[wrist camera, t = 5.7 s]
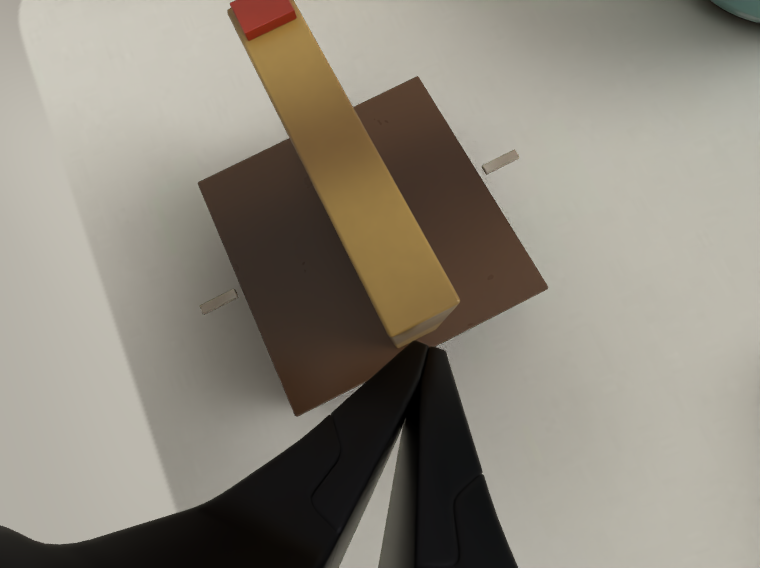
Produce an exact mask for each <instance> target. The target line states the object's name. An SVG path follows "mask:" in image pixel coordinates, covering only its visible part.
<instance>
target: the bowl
mask: <svg viewBox="0 0 760 568" xmlns="http://www.w3.org/2000/svg"><path fill="white" fill-rule="evenodd" d="M710 1H712V2H713V3H714V4H716V5H717V6H719V7H720V8H722V9H724V10H725V11H727V12H729V13H731V14H734V15H736V16H738V17H740V18H743V19H746V20H749V21H753V22H757V23H760V0H710Z"/></svg>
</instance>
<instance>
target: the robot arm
mask: <svg viewBox="0 0 760 568" xmlns="http://www.w3.org/2000/svg"><path fill="white" fill-rule="evenodd" d="M403 424H404V425H403ZM402 426H403V429H402ZM401 429H402V434H401V439H400V445H399V450H398V456H397V462H396V468H395V474H394V479H393V485H392V491H391V497H390V502H389V508H388V514H387V520H386V526H385V531H384V537H383V543H382V549H381V554H380V560H379V566H378V568H518V566H517V564H516V561H515V559H514V557H513V554H512V552H511V550H510V547H509V545H508V542H507V540H506V537H505V535H504V532H503V530H502V527H501V525H500V522H499V520H498V517H497V514H496V511H495V508H494V505H493V502H492V499H491V496H490V494H489V490H488V487H487V484H486V480H485V477H484V475H483V474H482V468H481V465H480V461H479V458H478V455H477V452H476V448H475V445H474V442H473V439H472V435H471V432H470V429H469V426H468V423H467V419H466V416H465V413H464V410H463V406H462V403H461V400H460V397H459V393H458V390H457V387H456V384H455V380H454V377H453V374H452V371H451V367H450V364H449V361H448V358H447V354H446V352H445V351H444V350H442V349H439V348H436V347H433V346H430V347H428V345H427V344H425V343H422V342H419V341H416V340H413V341H412V342H410V343H409V344H408V345H407V346H406V347H405V348H404V349H403V350H402V351H400V352H399V353H398V354H397V355H396V356H395V357H394V358H393V359H391V360H390V361H389V362H388V363H387V364H386V365H385V366H384V367H382V368H381V369H380V370H379V371H378V372H377V373H376V374H375V375H373V376H372V377H371V378H370V379H369V380H368V381H367V382H366V383H365V384H363V385H362V386H361V387H360V388H359V389H358V390H357V391H356V392H354V393H353V394H352V395H351V396H350V397H349V398H348V399H347V400H345V401H344V402H343V403H342V404H341V405H340V406H339V407H338V408H337V409H335V410H334V411H333V412H332V413H331V415H328V416H327V417H326V418H325V419H324V420H323V421H322V422H321V423H319V424H318V425H317V426H316V427H315V428H314V429H312V430H311V431H310V432H309V433H308V434H306V435H305V436H304V437H303V438H302V439H300V440H299V441H297V442H296V443H295V444H293V445H292V446H291V447H289V448H288V449H286V450H285V451H284V452H282V453H281V454H279V455H278V456H277V457H275V458H274V459H272V460H271V461H269V462H268V463H266V464H265V465H263V466H262V467H260V468H259V469H258V470H256V471H255V472H253V473H252V474H250V475H249V476H247V477H246V478H244V479H243V480H241V481H240V482H239V483H237V484H236V485H234V486H233V487H231V488H230V489H228V490H227V491H225V492H224V493H222V494H220V495H219V496H217V497H215V498H213V499H212V500H210V501H208V502H206V503H204V504H201V505H199V506H196V507H194V508H191V509H188V510H185V511H182V512H178V513H175V514H172V515H169V516H166V517H162V518H159V519H156V520H152V521H149V522H146V523H143V524H140V525H136V526H133V527H130V528H127V529H123V530H120V531H117V532H114V533H111V534H107V535H104V536H101V537H97V538H94V539H91V540H87V541H82V542H78V543H71V544H61V545H58V544H44V543H41V542H37V541H34V540H32V539H30V538H28V537H26V536H24V535H22V534H20V533H18V532H15V531H13V530H11V529H9V528H6V527H3V526H0V568H339V566H340V564H341V561H342V559H343V557H344V555H345V553H346V550H347V548H348V546H349V544H350V542H351V539H352V537H353V535H354V533H355V531H356V528H357V526H358V524H359V522H360V520H361V517H362V515H363V513H364V511H365V509H366V506H367V504H368V502H369V500H370V498H371V495H372V493H373V491H374V489H375V487H376V484H377V482H378V480H379V478H380V476H381V473H382V471H383V469H384V467H385V465H386V462H387V460H388V458H389V456H390V454H391V451H392V449H393V447H394V445H395V443H396V440H397V438H398V436H399V434H400V431H401Z"/></svg>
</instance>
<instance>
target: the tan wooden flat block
mask: <svg viewBox="0 0 760 568" xmlns="http://www.w3.org/2000/svg"><path fill="white" fill-rule="evenodd" d="M230 6H231V8H230V9H228V10H227V11H228V16H229V18H230V20H231V22H232V24H233V26H234V28H235V30H236V32H237V34H238V36H239V38H240V40H241V42H242V44H243V46H244V48H245V50H246V52H247V54H248V56H249V58H250V60H251V62H252V64H253V66H254V68H255V70H256V72H257V74H258V76H259V78H260V80H261V82H262V84H263V86H264V88H265V90H266V92H267V94H268V96H269V98H270V100H271V102H272V104H273V106H274V108H275V110H276V112H277V114H278V116H279V118H280V120H281V122H282V124H283V126H284V128H285V130H286V132H287V134H288V136H289V138H290V140H291V142H292V144H293V146H294V148H295V150H296V152H297V154H298V156H299V158H300V160H301V162H302V164H303V166H304V168H305V170H306V172H307V174H308V176H309V178H310V180H311V182H312V184H313V186H314V188H315V190H316V192H317V194H318V196H319V198H320V200H321V202H322V204H323V206H324V208H325V210H326V212H327V214H328V216H329V218H330V220H331V222H332V224H333V226H334V228H335V230H336V232H337V234H338V236H339V238H340V240H341V242H342V244H343V246H344V248H345V250H346V252H347V254H348V256H349V258H350V260H351V262H352V264H353V266H354V268H355V270H356V272H357V274H358V276H359V278H360V280H361V282H362V284H363V286H364V288H365V290H366V292H367V294H368V296H369V298H370V300H371V302H372V304H373V306H374V308H375V310H376V312H377V314H378V316H379V318H380V320H381V322H382V324H383V326H384V328H385V330H386V332H387V334H388V336H389V338H390V339H391V341H392V342H393V344H394V345H395V347H396V348H401V347H403V346H404V345H406V344H408V343H410V342H412V341H413V340H416V339H418V338H420V337H422V336H424V335H426V334H428V333H430V332H432V331H434V330H436V329H437V328H438V327H439V325H440V324H441V323H442V322H443V321H444V320H445V319H446V318H447V316H448V315H449V314H450V313H451V312H452V311H453V310H454V309H455V308H456V306H457V305H458V304H459V303H460V298H459V297H458V295H457V293H456V291H455V289H454V288H453V286H452V284H451V282H450V280H449V279H448V277H447V275H446V273H445V271H444V270H443V268H442V266H441V264H440V262H439V261H438V259H437V257H436V255H435V253H434V252H433V250H432V248H431V246H430V245H429V243H428V241H427V239H426V237H425V236H424V234H423V232H422V230H421V228H420V227H419V225H418V223H417V221H416V219H415V218H414V216H413V214H412V212H411V210H410V209H409V207H408V205H407V203H406V201H405V200H404V198H403V196H402V194H401V192H400V191H399V189H398V187H397V185H396V183H395V182H394V180H393V178H392V176H391V174H390V173H389V171H388V169H387V167H386V165H385V164H384V162H383V160H382V158H381V156H380V155H379V153H378V151H377V149H376V147H375V146H374V144H373V142H372V140H371V138H370V137H369V135H368V133H367V131H366V129H365V128H364V126H363V124H362V122H361V120H360V119H359V117H358V115H357V113H356V112H355V110H354V108H353V106H352V104H351V103H350V101H349V99H348V97H347V95H346V94H345V92H344V90H343V88H342V86H341V85H340V83H339V81H338V79H337V77H336V76H335V74H334V72H333V70H332V68H331V67H330V65H329V63H328V61H327V59H326V58H325V56H324V54H323V52H322V50H321V49H320V47H319V45H318V43H317V41H316V40H315V38H314V36H313V34H312V32H311V31H310V29H309V27H308V25H307V23H306V22H305V20H304V18H303V16H302V14H301V13H300V11H299V9H298V7H297V5H296V4H295V2H294V0H235V1H233V2H231V3H230Z"/></svg>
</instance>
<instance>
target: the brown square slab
mask: <svg viewBox="0 0 760 568" xmlns="http://www.w3.org/2000/svg"><path fill="white" fill-rule="evenodd" d="M353 108H354V110H355V112H356V113H357V115H358V117H359V119H360V120H361V122H362V124H363V126H364V128H365V129H366V131H367V133H368V135H369V137H370V138H371V140H372V142H373V144H374V146H375V147H376V149H377V151H378V153H379V155H380V156H381V158H382V160H383V162H384V164H385V165H386V167H387V169H388V171H389V173H390V174H391V176H392V178H393V180H394V182H395V183H396V185H397V187H398V189H399V191H400V192H401V194H402V196H403V198H404V200H405V201H406V203H407V205H408V207H409V209H410V210H411V212H412V214H413V216H414V218H415V219H416V221H417V223H418V225H419V227H420V228H421V230H422V232H423V234H424V236H425V237H426V239H427V241H428V243H429V245H430V246H431V248H432V250H433V252H434V253H435V255H436V257H437V259H438V261H439V262H440V264H441V266H442V268H443V270H444V271H445V273H446V275H447V277H448V279H449V280H450V282H451V284H452V286H453V288H454V289H455V291H456V293H457V295H458V297H459V298H460V303H459V304H458V305H457V306H456V308H455V309H454V310H453V311H452V312H451V313H450V314H449V315H448V316H447V318H446V319H445V320H444V321H443V322H442V323H441V324H440V325H439V327H438V328H437V329H436V330H434V331H432V332H430V333H428V334H426V335H424V336H422V337H420V338H418V339H416V341H419V342H422V343H425V344H427V345H428V347H430V346H433V347H435V346H437V345H439V344H441V343H443V342H445V341H447V340H449V339H451V338H453V337H455V336H457V335H459V334H461V333H463V332H465V331H467V330H469V329H471V328H473V327H475V326H477V325H479V324H480V323H482V322H484V321H486V320H488V319H490V318H492V317H494V316H496V315H498V314H500V313H502V312H504V311H506V310H508V309H510V308H512V307H514V306H516V305H518V304H520V303H522V302H524V301H525V300H527V299H529V298H531V297H533V296H535V295H537V294H539V293H541V292H543V291H545V290H547V289H548V286H547V284H546V282H545V281H544V279H543V278H542V276H541V274H540V273H539V271H538V270H537V268H536V266H535V265H534V263H533V261H532V260H531V258H530V257H529V255H528V253H527V252H526V250H525V248H524V247H523V245H522V244H521V242H520V240H519V239H518V237H517V236H516V234H515V232H514V231H513V229H512V227H511V226H510V224H509V223H508V221H507V219H506V218H505V216H504V214H503V213H502V211H501V210H500V208H499V206H498V205H497V203H496V202H495V200H494V198H493V197H492V195H491V193H490V192H489V190H488V189H487V187H486V185H485V184H484V182H483V180H482V179H481V177H480V176H479V174H478V172H477V171H476V169H475V168H474V166H473V164H472V163H471V161H470V159H469V158H468V156H467V155H466V153H465V151H464V150H463V148H462V146H461V145H460V143H459V142H458V140H457V138H456V137H455V135H454V134H453V132H452V130H451V129H450V127H449V125H448V124H447V122H446V121H445V119H444V117H443V116H442V114H441V112H440V111H439V109H438V108H437V106H436V104H435V103H434V101H433V100H432V98H431V96H430V95H429V93H428V91H427V90H426V88H425V87H424V85H423V83H422V82H421V80H420V78H419V77H418V76H417V77H415V78H413V79H410V80H408V81H406V82H404V83H402V84H400V85H398V86H396V87H394V88H392V89H390V90H388V91H386V92H384V93H382V94H380V95H377V96H375V97H373V98H371V99H369V100H367V101H365V102H363V103H361V104H359V105H357V106H355V107H353ZM517 159H519V155H518V154H517V152H516V151H515V150H513V151H511V152H509V153H507V154H505V155H502V156H500V157H498V158H496V159H494V160H492V161H490V162H488V163H486V164H484V165H482V169H483V170H484V172H485V174H486V175H487V174H489V173H491V172H493V171H495V170H497V169H499V168H501V167H503V166H505V165H507V164H509V163H511V162H513V161H515V160H517ZM198 186H199V188H200V190H201V193H202V195H203V198H204V200H205V202H206V205H207V207H208V210H209V212H210V214H211V217H212V219H213V221H214V224H215V226H216V229H217V231H218V233H219V236H220V238H221V240H222V243H223V245H224V248H225V250H226V252H227V255H228V257H229V260H230V262H231V264H232V267H233V269H234V271H235V274H236V276H237V279H238V281H239V283H240V286H241V288H242V291H243V293H244V295H245V298H246V300H247V302H248V305H249V307H250V310H251V312H252V314H253V317H254V319H255V321H256V324H257V326H258V329H259V331H260V333H261V336H262V338H263V341H264V343H265V345H266V348H267V350H268V352H269V355H270V357H271V360H272V362H273V364H274V367H275V369H276V372H277V374H278V376H279V379H280V381H281V383H282V386H283V388H284V391H285V393H286V395H287V398H288V400H289V402H290V405H291V407H292V410H293V412H294V414H295V416H296V417H298V416H300V415H302V414H304V413H306V412H308V411H310V410H312V409H314V408H316V407H318V406H320V405H322V404H324V403H326V402H328V401H330V400H331V399H333V398H335V397H337V396H339V395H341V394H343V393H345V392H347V391H349V390H351V389H353V388H355V387H357V386H359V385H361V384H363V383H365V382H367V381H368V380H369V379H370V378H371V377H372V376H373V375H375V374H376V373H377V372H378V371H379V370H380V369H381V368H382V367H384V366H385V365H386V364H387V363H388V362H389V361H390V360H391V359H393V358H394V357H395V356H396V355H397V354H398V353H399V352H400V351H402V350H403V349H404V348H405V347H406V346H407V345H408V344H409V343H408V344H406V345H404V346H403V347H401V348H396V347H395V345H394V344H393V342H392V341H391V339H390V338H389V336H388V334H387V332H386V330H385V328H384V326H383V324H382V322H381V320H380V318H379V316H378V314H377V312H376V310H375V308H374V306H373V304H372V302H371V300H370V298H369V296H368V294H367V292H366V290H365V288H364V286H363V284H362V282H361V280H360V278H359V276H358V274H357V272H356V270H355V268H354V266H353V264H352V262H351V260H350V258H349V256H348V254H347V252H346V250H345V248H344V246H343V244H342V242H341V240H340V238H339V236H338V234H337V232H336V230H335V228H334V226H333V224H332V222H331V220H330V218H329V216H328V214H327V212H326V210H325V208H324V206H323V204H322V202H321V200H320V198H319V196H318V194H317V192H316V190H315V188H314V186H313V184H312V182H311V180H310V178H309V176H308V174H307V172H306V170H305V168H304V166H303V164H302V162H301V160H300V158H299V156H298V154H297V152H296V150H295V148H294V146H293V144H292V142H291V140H290V138H289V139H287V140H285V141H282V142H280V143H278V144H276V145H274V146H272V147H270V148H268V149H266V150H264V151H262V152H260V153H258V154H256V155H254V156H251V157H249V158H247V159H245V160H243V161H241V162H239V163H237V164H235V165H233V166H231V167H229V168H227V169H225V170H223V171H220V172H218V173H216V174H214V175H212V176H210V177H208V178H206V179H204V180H202V181H200V182H198ZM237 298H239V297H238V295H237V292H236V290H235V289H232V290H230V291H228V292H226V293H224V294H222V295H220V296H218V297H216V298H214V299H212V300H210V301H208V302H206V303H204V304H202V305H200V308H201V311H202V313H203V314H207V313H209V312H211V311H213V310H215V309H217V308H219V307H221V306H223V305H225V304H227V303H229V302H231V301H233V300H235V299H237Z"/></svg>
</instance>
